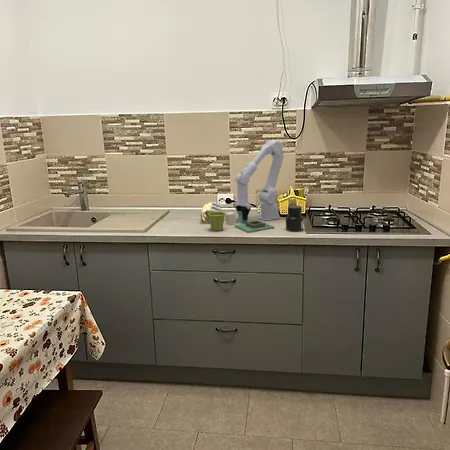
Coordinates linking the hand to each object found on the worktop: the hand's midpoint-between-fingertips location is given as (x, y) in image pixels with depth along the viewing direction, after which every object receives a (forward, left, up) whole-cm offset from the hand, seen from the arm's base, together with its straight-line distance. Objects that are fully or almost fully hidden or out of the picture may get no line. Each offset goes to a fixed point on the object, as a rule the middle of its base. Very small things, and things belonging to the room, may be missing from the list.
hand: (243, 219), depth 239 cm
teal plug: (0, 0, -1) cm, 1 cm away
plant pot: (+20, +7, -2) cm, 21 cm away
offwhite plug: (+8, 0, -2) cm, 8 cm away
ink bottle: (-13, +30, -2) cm, 33 cm away
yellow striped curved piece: (+11, -17, -2) cm, 21 cm away
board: (+2, +15, -1) cm, 15 cm away
